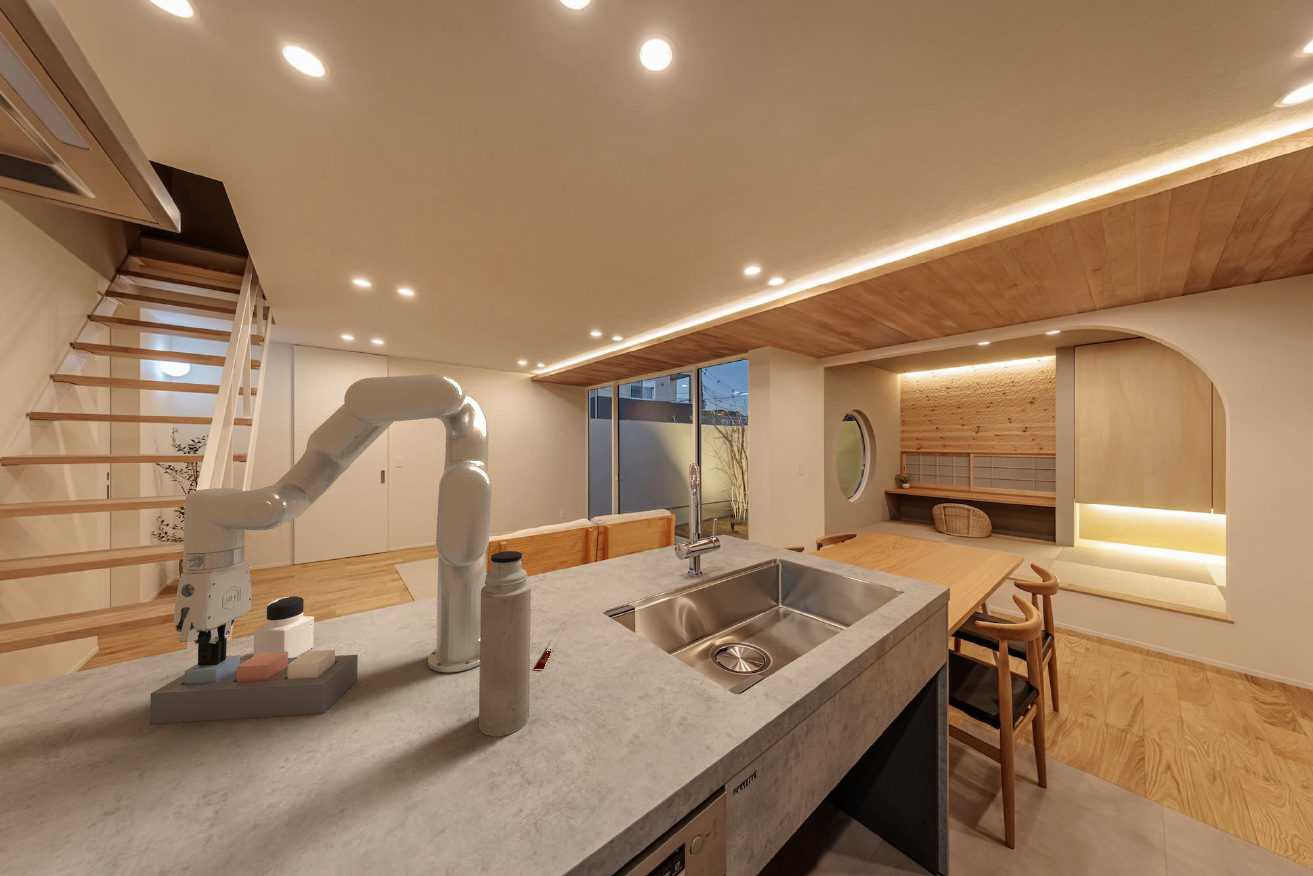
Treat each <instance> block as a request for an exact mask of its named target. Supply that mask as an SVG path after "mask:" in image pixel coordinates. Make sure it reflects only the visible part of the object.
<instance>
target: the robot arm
mask: <svg viewBox="0 0 1313 876" xmlns="http://www.w3.org/2000/svg"><path fill="white" fill-rule="evenodd" d="M343 400H344V401H343V402H344V403H343V404H342V405H340V407H338V408H337V409H336V410H335V411H334V412H333V413H332V414H331V415H330V416H329V417H328V418H327V419H325V421H324V422H323V423H321V424H320V425H319V426H318V427H317V428H316V429H315V430H313V432H311V434H310V436H309V437H308V439H307V441H306V442H307V443H306V447H305V451H304V453H303V455H301V457H300V458H299V460H298V461H297V462H296V463H295V464H294V465H293V466H292V467H291V468H290V469H288V471H287V472H286V473H285V474H284V475H283V476H282V477H281V478H280V479H278V480H277V482H275V483H274V484H273V485H269V486H265V487H262V488H257V489H256V488H255V489H250V490H242V489H239V488H235V487H234V488H232V487H230V488H229V487H223V488H222V487H220V488H219V487H218V488H217V487H216V488H205V489H198V490H194V491H191V492H189V493H188V494H187V495H186V496H185V500H184V515H183V516H184V518H183V519H184V520H183V521H184V522H183V548H182V549H183V552H182V553H183V556H182V563H181V567H182V573H181V574H180V577H179V581H178V584H177V585H178V586H177V590H176V596H175V604H174V613H173V614H174V616H173V617H174V619H173V623H174V629H175V631H176V632H177V633H180V634H179V639H178V641H179V643H188V642H189V643H190V642H194V644H195V645H198V646H197V664H198V665H199V666H206V665H217V664H219V663H220V662H223V661H224V660H226V656H227V647H228V646H227V643H228V642H227V639H228V637H229V636H230V634H231V629H232V628H231V627H232V626H233V624H234V623H236V621H237V620H239V619H240V618H241V617H242V616H243V615H246V614H247V613H248V612H249V611H250V610H251V609H252V602H253V601H252V600H253V599H252V593H253V592H252V581H251V580H252V579H251V574H250V573H251V572H250V568H249V564H248V561H247V559H245V554H246V553H245V547H246V545H245V544H246V531H260V532H261V531H269V530H273V529H276V528H279V527H281V526H283V525H285V524H286V523H289V522H291V521H293V520H295V519H297V518H299V517H300V516H301V515H303V514H304V513H306V511H307V510H308V509H310V507H311V506H312V505H313V504H315V503H316V501H317V500H318V499H319V498H321V496H322V495H324V494H325V493H326V492H327V490H328V489H329V488H331V487H332V486H333V485H334V483H335V482H336V481H337V480H338V479H339V478H340V477H341V475H343V474H344V473H345V472H346V471H347V470H348V469H349V468H350V467H351V466H352V464H353V463H354V462H355V461H356V460H357V459H358V458H359V457H360V456H361V455H362V454H363V453H364V452H365V451H366V450H367V449H368V448H369V447H370V446H371V445H372V444H374V442H375V441H376V440H377V439H378V438H379V437H380V436H381V435H382V434H384V432H385V431H386V430H387V429H388V428H390V426H391V425H393V423H394V422H402V421H405V422H406V421H416V420H427V419H438V420H440V421H441V423H443V425H444V428H445V444H444V445H445V454H444V455H445V457H444V468H443V473H442V475H441V478H440V481H439V484H438V485H439V486H438V495H437V496H438V497H437V498H438V499H437V516H436V536H435V548H436V552H437V589H436V590H437V597H436V605H437V606H436V648H435V649H434V650H432V652H430V653H429V655H428V657H427V665H428V666H427V667H429V668H430V669H431V670H433V671H435V672H438V673H456V672H457V673H458V672H463V671H467V670H471V669H474V668H476V667H477V666H480V614H481V589H482V588H483V587H484V586H485V580H486V575H487V548H488V546H489V542H490V529H491V528H490V526H491V511H492V510H491V508H492V494H493V493H492V480H491V477H490V475H489V472H488V471H489V469H488V466H489V465H488V462H489V425H488V420H487V418H486V414H485V412H484V410H483V409H482V407H481V405H480V404H479V403H478V402H477V400H476V399H475V398H474V397H473V396H472V395H471V394H469V393H468V392H466V391H465V390H464V389H463V387H462V385H461V384H460V382H459V381H457V380H456V379H454V378H453V377H451V376H448V375H445V374H440V373H438V374H437V373H436V374H435V373H434V374H418V375H416V374H415V375H399V376H398V375H395V376H376V377H375V376H371V377H366V378H361V379H359V380H356V381H355V382H354V383H352V384H351V385H350V386H349V387H348V388H347V389H346V391H345V394H344V399H343Z"/></svg>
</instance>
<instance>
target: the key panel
mask: <svg viewBox="0 0 1313 876" xmlns="http://www.w3.org/2000/svg"><path fill="white" fill-rule="evenodd" d="M298 657H299V656H297V657H296V658H288V664H290V663H291V662H292V661H294V660H295V659H297V658H298ZM358 657H359V655H358V654H343V655H335V664H334V665H333V666H332V667H331V668H330V669H328V670H327V671H326V672H325V673H323V674H322V675H321V676H320V677H319V678H302V679H288V666H287V667H286V668H285V669H283V670H282V671H280V672H279V673H278V674H276V675H275V676H273V677H272V678H271V679H269V680H264V681H245V682H237V670H236V671H235V672H233V673H232V674H230V675H228V676H227V677H225V678H224V679H222V680H220V681H219V682H217V683H207V684H187V685H184V676H185V674H183V675H181V676H180V677H177V678H176V679H173V681H171V682H169V683H166V684H165V685H163V686H161V687H160V688H157V689H156V690H155V691H152V692H150V713H149V714H150V715H149V724H150V725H157V724H172V723H173V724H175V723H189V722H204V721H205V722H207V721H208V722H209V721H221V720H222V721H223V720H237V719H238V720H239V719H254V718H255V719H256V718H269V717H270V718H271V717H272V718H273V717H288V716H302V715H303V716H304V715H318V714H319V715H321V714H324V713H325V712H326V711H327V710H329V709H330V708H331V707H332V706H333V705H334V704H335V703H336V702H337V701H338V700H339V699H340V698H341V697H342V696H343V695H344V694H345V693H346V692H347V691H348V690H349V689H350V688H351V687H352V686H353V685H355V683H356V682H357V681H358V662H359V661H358ZM247 660H248V659H240V664H242V663H244V662H245V661H247Z"/></svg>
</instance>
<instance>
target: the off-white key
mask: <svg viewBox="0 0 1313 876" xmlns="http://www.w3.org/2000/svg"><path fill="white" fill-rule="evenodd" d="M335 656H336V650H335V649H324V650H309V651H306V652H305V653H303V654H301V655H299V656H297V657H298V658H297V657H296V658H297V659H295V660H294V661H292V662H291V663H290V664H288V679H302V678H319V677H320V676H321V675H322V674H323V673H325V672H326V671H327V670H328V669H330V668H331V667H332V666H333V665H334V664H335Z"/></svg>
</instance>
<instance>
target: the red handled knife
mask: <svg viewBox="0 0 1313 876" xmlns="http://www.w3.org/2000/svg"><path fill="white" fill-rule="evenodd" d="M545 650H547V649H545ZM545 650H544V651H543V653H542V655H541V656H540V658H539V659H538V661H537V662H536V664H535V665H534V667H533V670H534V669H544V670H545V668H544V667H546V666H545V664H546V662H547V660H548V661H549V659H550V657H551V655H550V653H551V651H545ZM550 650H551V649H550ZM547 652H548V653H547ZM551 654H552V653H551ZM549 656H550V657H549ZM548 658H549V659H548ZM547 663H548V662H547ZM546 665H547V664H546Z"/></svg>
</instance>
